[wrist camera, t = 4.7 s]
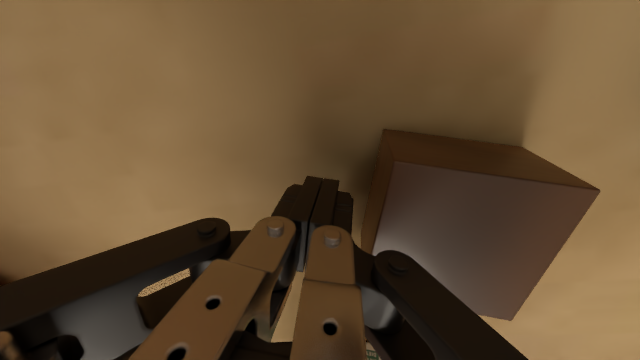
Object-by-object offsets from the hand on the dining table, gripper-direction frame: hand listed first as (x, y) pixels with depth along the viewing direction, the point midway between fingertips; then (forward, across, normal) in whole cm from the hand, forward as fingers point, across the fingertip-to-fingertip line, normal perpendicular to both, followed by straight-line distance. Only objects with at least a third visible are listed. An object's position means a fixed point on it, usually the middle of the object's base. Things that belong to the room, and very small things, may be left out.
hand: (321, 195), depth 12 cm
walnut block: (+1, -5, 0) cm, 5 cm away
